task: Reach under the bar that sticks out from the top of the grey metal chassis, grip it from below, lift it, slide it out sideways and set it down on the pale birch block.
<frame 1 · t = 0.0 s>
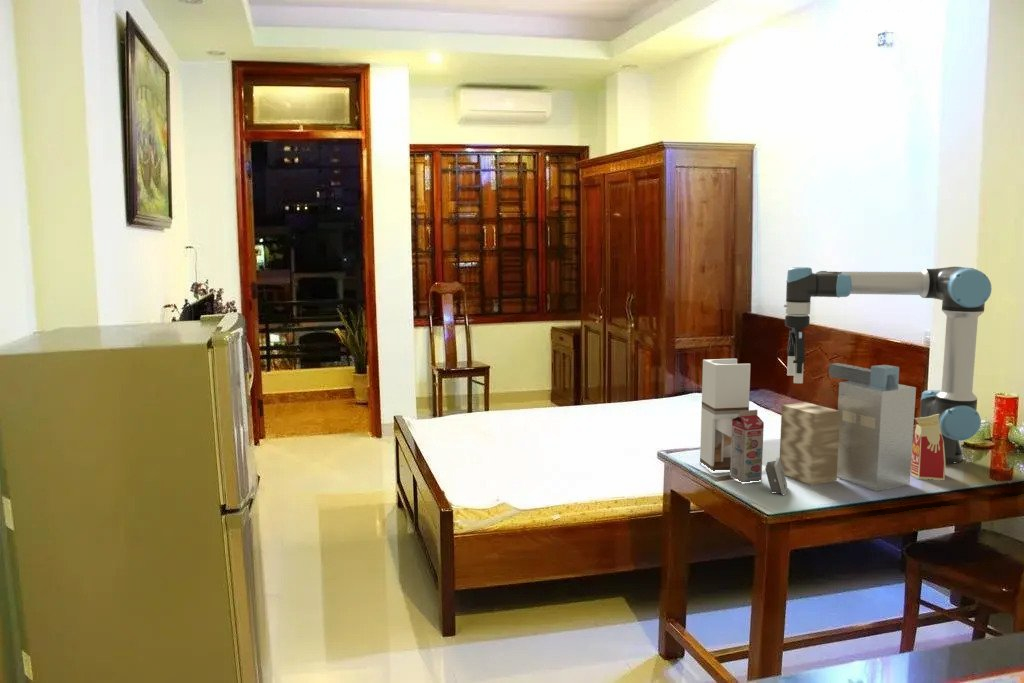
hand: (794, 379, 264), 28 cm above the table, tool pointing down, fingers open, 13 cm apart
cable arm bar: (861, 381, 249), point 30 cm above the table, touching chassis
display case: (722, 468, 261), on the table
milk carton: (925, 476, 252), on the table
electrical switch: (776, 491, 238), on the table
birch block: (807, 476, 251), on the table
chassis: (871, 480, 247), on the table
juice carton: (745, 480, 248), on the table
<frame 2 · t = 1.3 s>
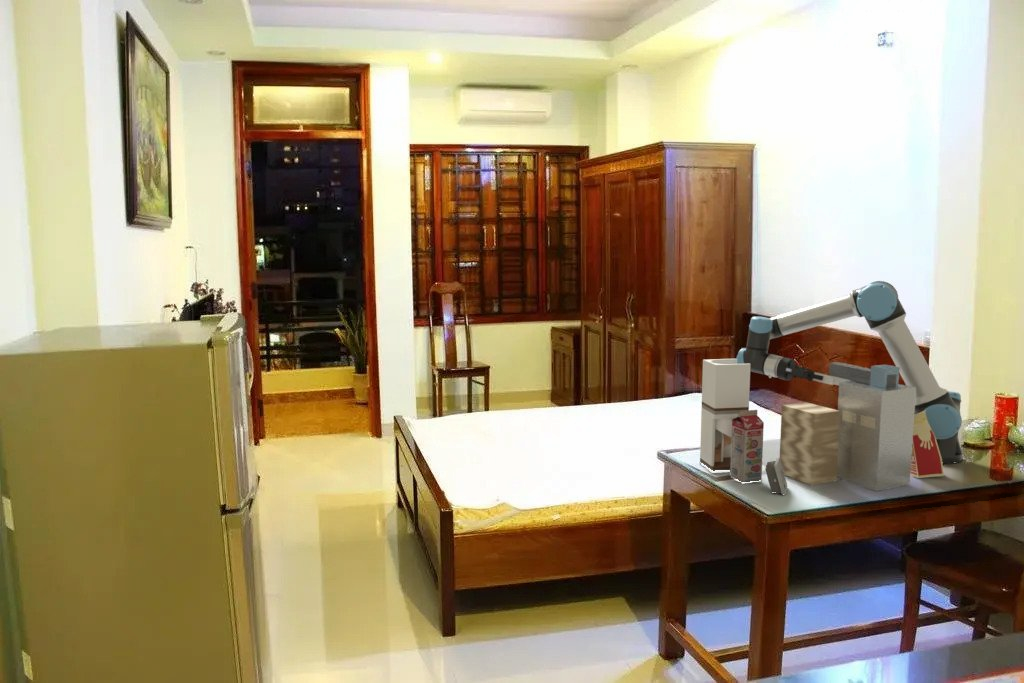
hand: (841, 382, 262), 27 cm above the table, tool horizontal, fingers open, 13 cm apart
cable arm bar: (861, 381, 249), point 30 cm above the table, touching chassis, gripper
milk carton: (925, 474, 252), on the table, touching arm
everything else where it was.
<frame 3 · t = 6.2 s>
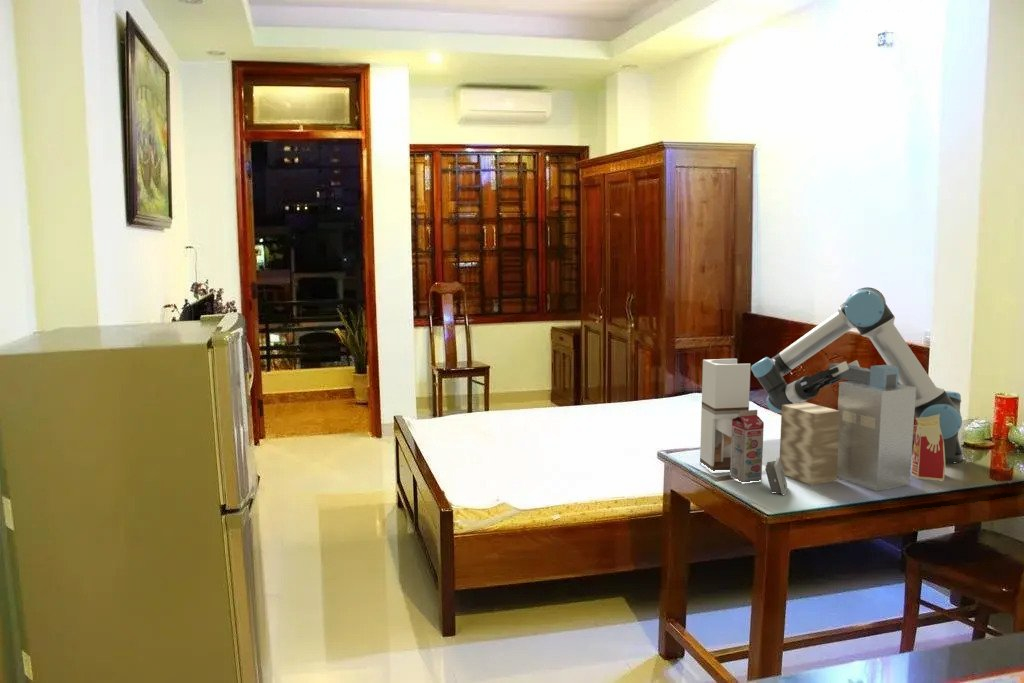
hand: (852, 364, 251), 35 cm above the table, tool pointing upward, fingers closed on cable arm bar, 4 cm apart
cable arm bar: (860, 381, 249), point 30 cm above the table, touching chassis, gripper
milk carton: (926, 476, 252), on the table
everything else where it was.
when the fingers open (28 cm above the table, at t = 12.6 s): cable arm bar drops 1 cm, resting on birch block.
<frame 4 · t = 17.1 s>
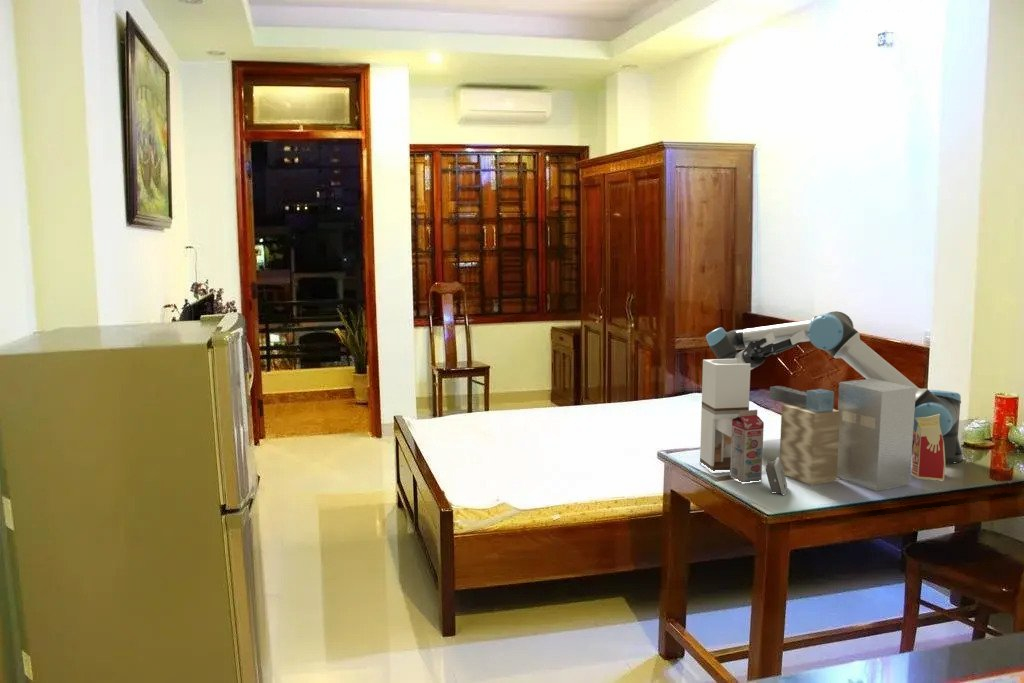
hand: (789, 334, 270), 42 cm above the table, tool pointing upward, fingers open, 13 cm apart
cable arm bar: (798, 404, 253), point 22 cm above the table, touching birch block
everything else where it was.
at the end: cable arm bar inside the target area (0.6 cm from its centre), point 22.0 cm above the table; the gripper is holding nothing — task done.
